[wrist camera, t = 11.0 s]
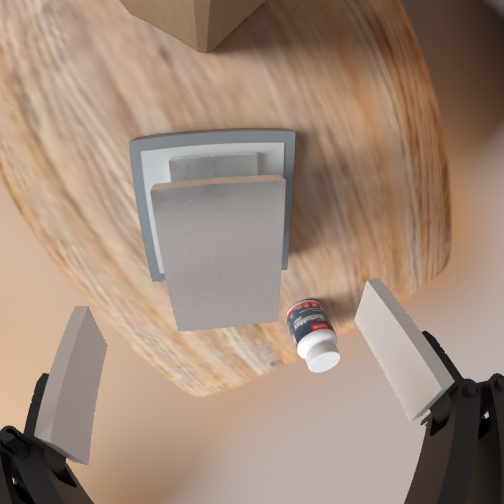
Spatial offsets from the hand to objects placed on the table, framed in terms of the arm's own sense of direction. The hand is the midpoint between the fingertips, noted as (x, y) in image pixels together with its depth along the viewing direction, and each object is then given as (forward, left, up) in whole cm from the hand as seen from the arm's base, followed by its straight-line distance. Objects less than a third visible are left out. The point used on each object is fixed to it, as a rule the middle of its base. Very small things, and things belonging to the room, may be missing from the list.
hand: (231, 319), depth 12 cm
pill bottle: (+17, +11, -17) cm, 27 cm away
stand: (0, 0, -17) cm, 17 cm away
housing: (0, 0, -14) cm, 14 cm away
